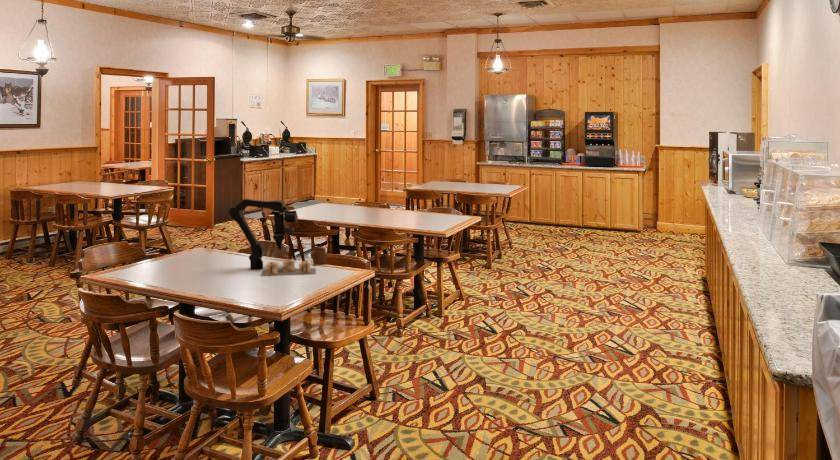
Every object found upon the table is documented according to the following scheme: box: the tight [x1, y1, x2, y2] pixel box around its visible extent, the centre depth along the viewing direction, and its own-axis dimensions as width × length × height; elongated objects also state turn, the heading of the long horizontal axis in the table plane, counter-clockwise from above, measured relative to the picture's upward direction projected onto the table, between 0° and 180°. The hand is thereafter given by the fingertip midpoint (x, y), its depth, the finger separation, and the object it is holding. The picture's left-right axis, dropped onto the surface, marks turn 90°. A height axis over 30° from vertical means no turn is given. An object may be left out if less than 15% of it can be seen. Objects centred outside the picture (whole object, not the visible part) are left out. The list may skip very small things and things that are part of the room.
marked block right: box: [298, 260, 311, 275], centre depth 342 cm, size 6×6×6 cm
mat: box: [260, 267, 317, 277], centre depth 344 cm, size 30×16×1 cm, turn 99°
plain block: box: [282, 258, 296, 272], centre depth 346 cm, size 6×6×6 cm
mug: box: [310, 247, 327, 266], centre depth 364 cm, size 12×8×9 cm, turn 153°
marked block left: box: [265, 261, 279, 275], centre depth 339 cm, size 6×6×6 cm
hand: (280, 249), depth 351 cm, fingers closed
